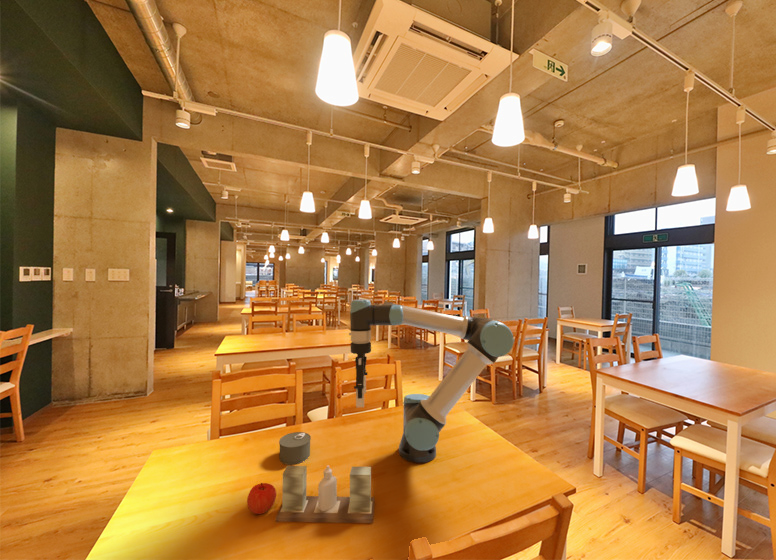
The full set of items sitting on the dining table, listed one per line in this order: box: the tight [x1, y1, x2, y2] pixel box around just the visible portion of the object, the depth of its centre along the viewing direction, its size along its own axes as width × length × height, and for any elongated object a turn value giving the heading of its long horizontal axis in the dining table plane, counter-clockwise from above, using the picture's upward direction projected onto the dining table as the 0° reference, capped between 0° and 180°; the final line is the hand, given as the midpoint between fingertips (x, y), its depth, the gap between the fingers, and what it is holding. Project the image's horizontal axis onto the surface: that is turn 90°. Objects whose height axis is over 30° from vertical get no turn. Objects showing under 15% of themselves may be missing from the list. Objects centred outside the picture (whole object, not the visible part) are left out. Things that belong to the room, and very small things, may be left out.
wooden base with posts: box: [275, 465, 375, 524], centre depth 93 cm, size 28×9×12 cm, turn 89°
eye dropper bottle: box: [317, 464, 338, 511], centre depth 93 cm, size 4×6×12 cm
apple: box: [246, 482, 277, 515], centre depth 93 cm, size 8×8×8 cm
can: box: [278, 431, 312, 466], centre depth 122 cm, size 12×12×7 cm
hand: (361, 399), depth 113 cm, fingers open, 13 cm apart
